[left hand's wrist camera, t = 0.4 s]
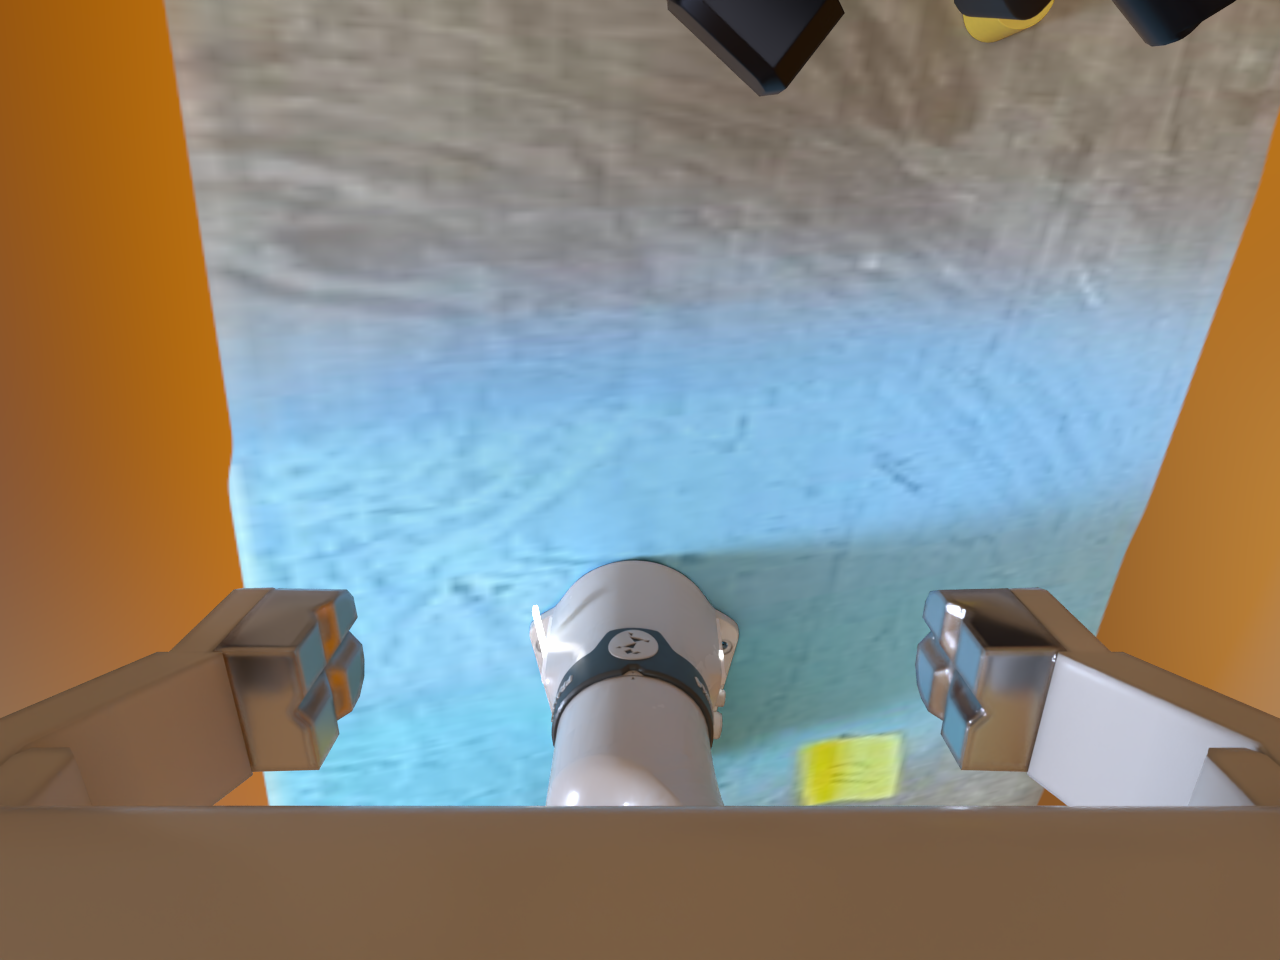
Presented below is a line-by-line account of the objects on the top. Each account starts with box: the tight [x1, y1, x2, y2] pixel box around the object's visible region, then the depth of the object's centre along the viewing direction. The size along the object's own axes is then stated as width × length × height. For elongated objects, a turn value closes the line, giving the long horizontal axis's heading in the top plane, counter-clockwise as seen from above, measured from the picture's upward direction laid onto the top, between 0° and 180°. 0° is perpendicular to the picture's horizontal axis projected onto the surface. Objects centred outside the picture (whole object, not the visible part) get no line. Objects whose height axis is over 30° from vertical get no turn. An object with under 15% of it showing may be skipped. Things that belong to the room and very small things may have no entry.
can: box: [963, 0, 1054, 42], centre depth 46 cm, size 4×4×4 cm
